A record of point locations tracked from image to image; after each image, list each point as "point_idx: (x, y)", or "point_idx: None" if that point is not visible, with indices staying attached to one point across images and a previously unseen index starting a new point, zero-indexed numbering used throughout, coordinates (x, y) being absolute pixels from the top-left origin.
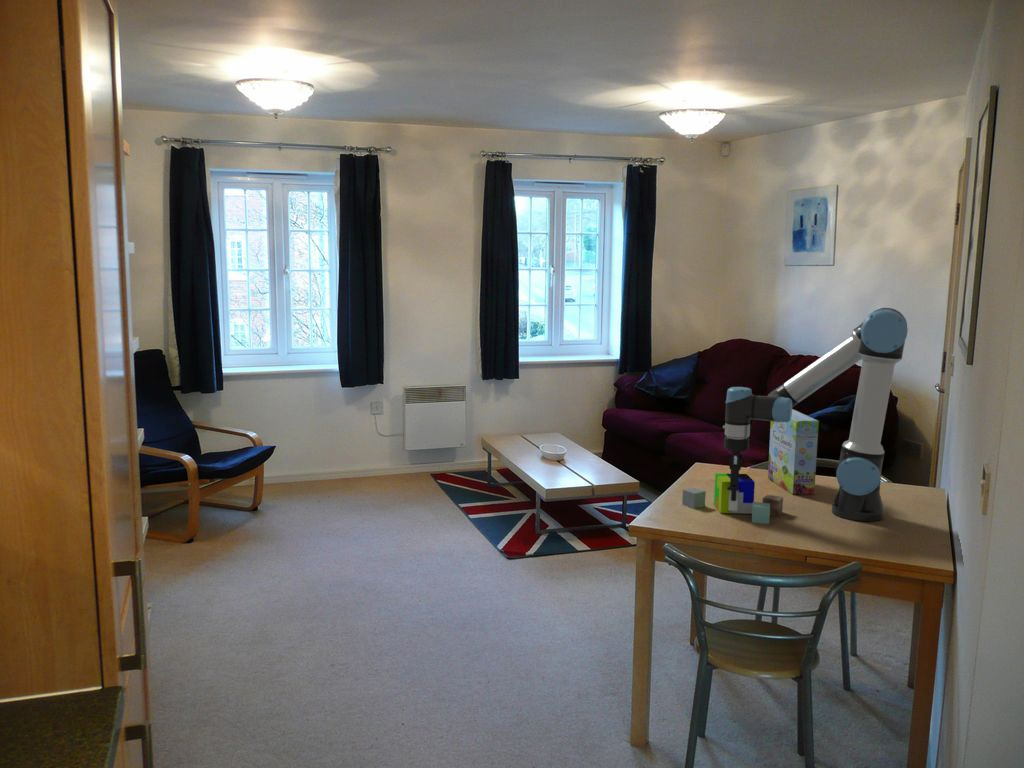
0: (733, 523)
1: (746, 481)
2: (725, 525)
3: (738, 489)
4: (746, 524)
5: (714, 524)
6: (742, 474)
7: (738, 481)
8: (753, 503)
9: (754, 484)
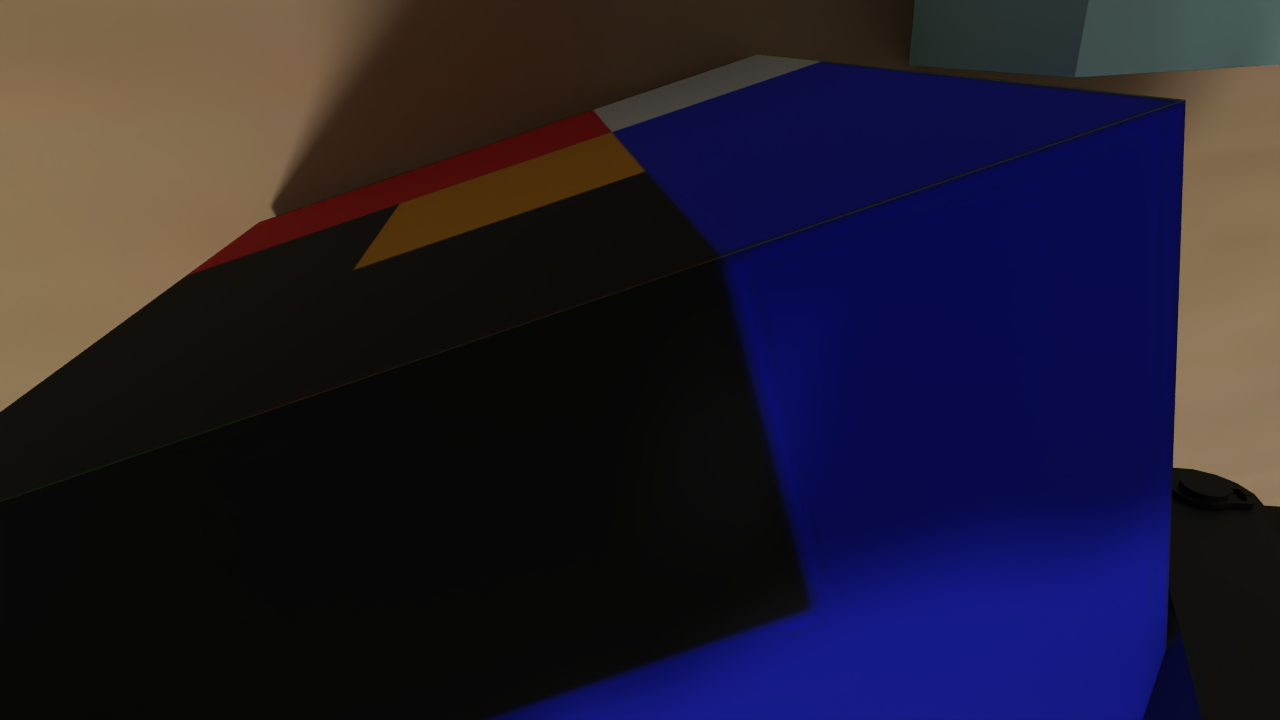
0: (1193, 277)
1: (1106, 419)
2: (1266, 350)
3: (1208, 476)
4: (1226, 117)
5: (1235, 454)
6: (36, 694)
7: (1126, 625)
8: (1185, 53)
9: (1099, 99)
